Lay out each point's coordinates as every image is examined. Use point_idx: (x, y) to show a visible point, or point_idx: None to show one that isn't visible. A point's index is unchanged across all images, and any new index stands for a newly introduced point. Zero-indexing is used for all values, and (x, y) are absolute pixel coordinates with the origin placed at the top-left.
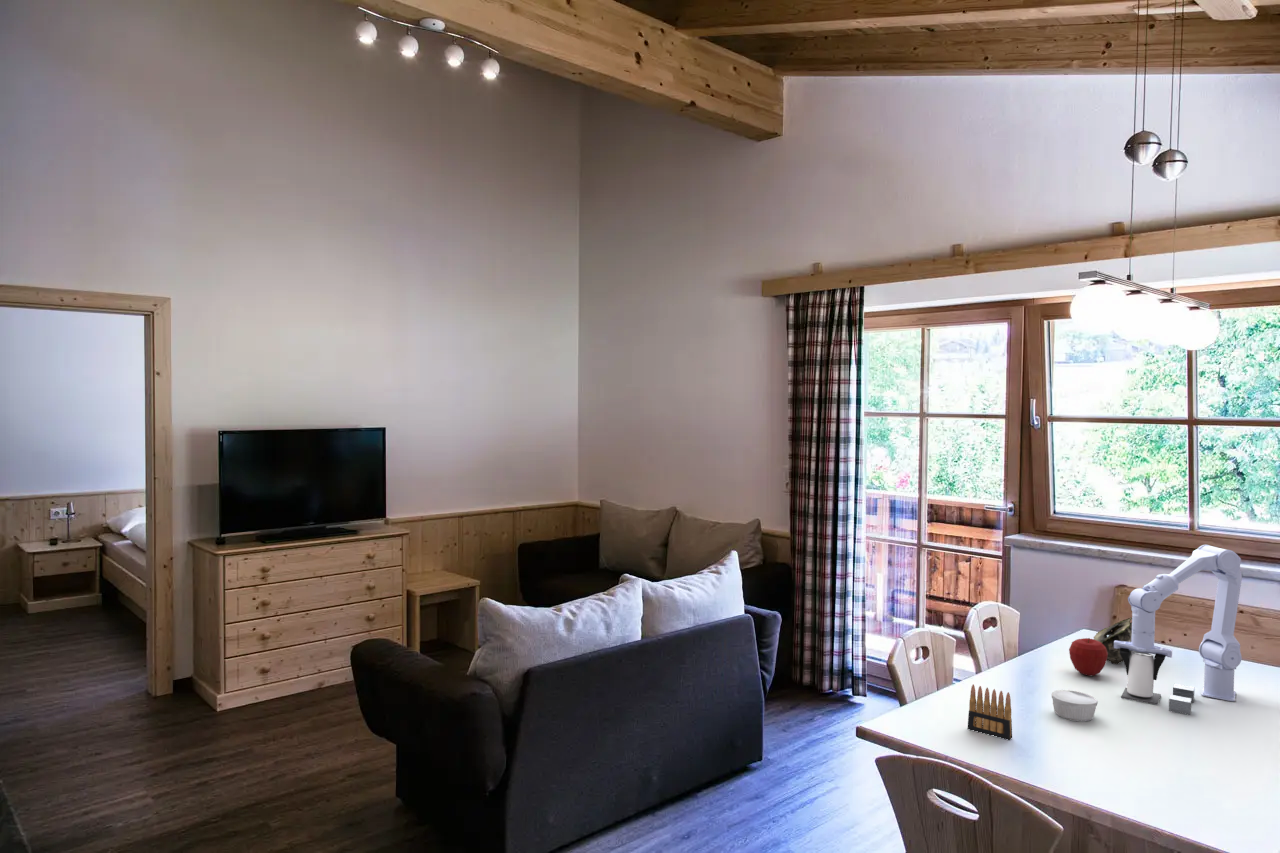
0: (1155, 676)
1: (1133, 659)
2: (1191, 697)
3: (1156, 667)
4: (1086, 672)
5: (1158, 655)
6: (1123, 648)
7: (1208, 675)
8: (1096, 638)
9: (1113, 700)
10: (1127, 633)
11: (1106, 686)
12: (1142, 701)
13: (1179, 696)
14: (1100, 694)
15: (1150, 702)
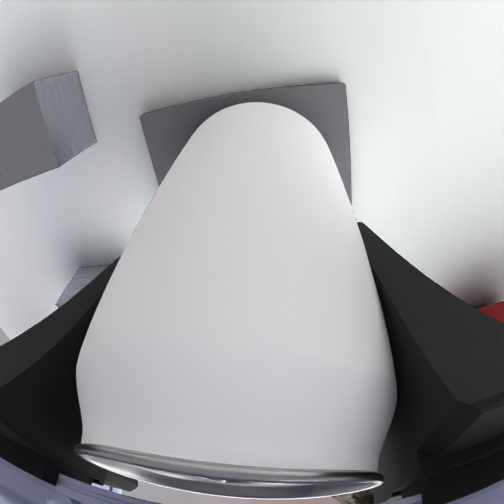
0: (118, 259)
1: (335, 337)
2: (74, 282)
3: (62, 316)
4: (494, 304)
5: (27, 455)
6: (501, 477)
7: None
8: None
9: (365, 7)
10: (359, 501)
11: (429, 236)
12: (220, 96)
13: (27, 176)
14: (445, 77)
15: (176, 106)
